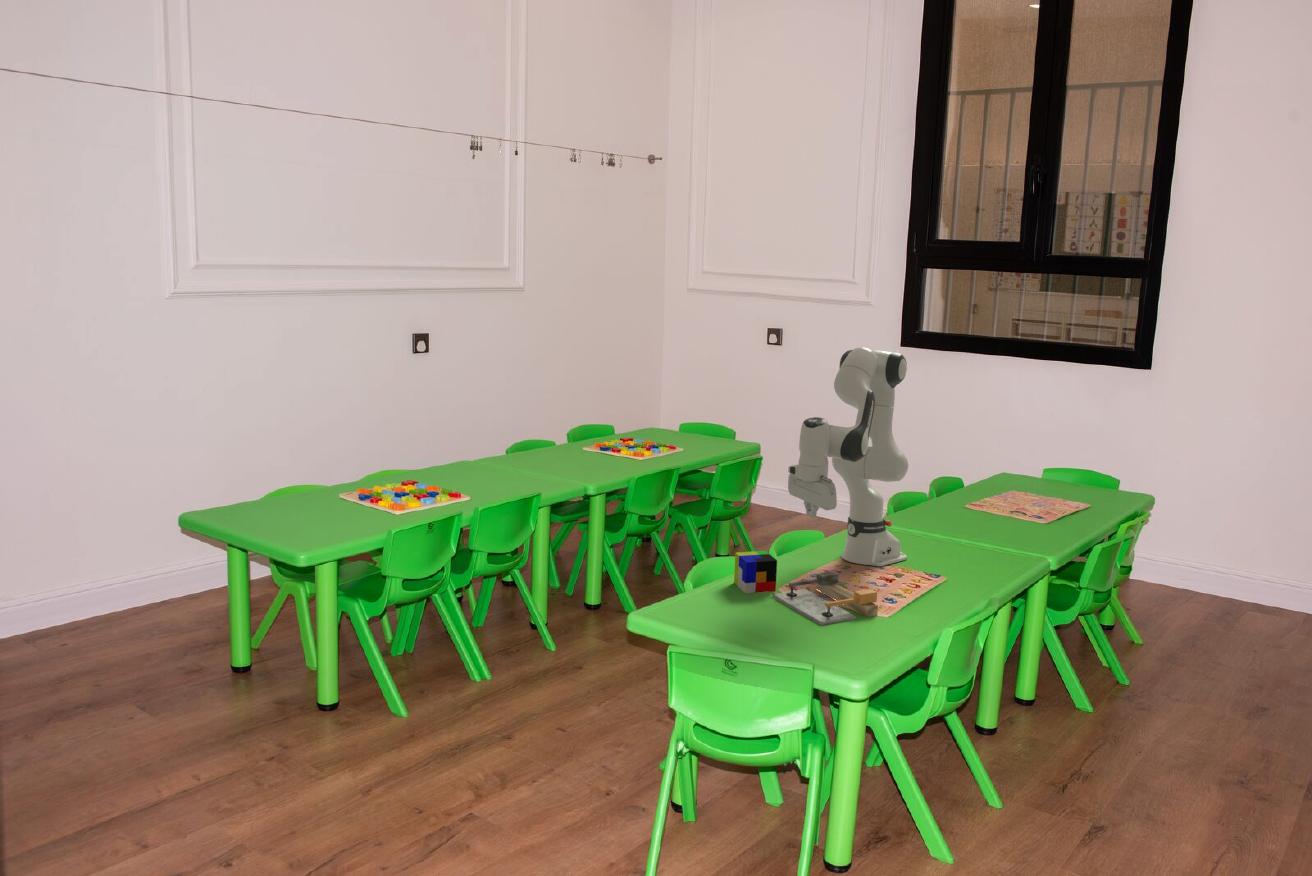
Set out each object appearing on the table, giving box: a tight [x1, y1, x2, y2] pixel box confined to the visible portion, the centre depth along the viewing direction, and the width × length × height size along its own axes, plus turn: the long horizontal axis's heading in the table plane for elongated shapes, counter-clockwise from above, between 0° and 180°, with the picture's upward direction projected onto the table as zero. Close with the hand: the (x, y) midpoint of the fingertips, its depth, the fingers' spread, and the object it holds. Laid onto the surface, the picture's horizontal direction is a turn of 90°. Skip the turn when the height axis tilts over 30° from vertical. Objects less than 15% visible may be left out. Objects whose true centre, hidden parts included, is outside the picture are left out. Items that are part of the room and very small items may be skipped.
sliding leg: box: [825, 588, 878, 614], centre depth 302 cm, size 17×3×5 cm, turn 117°
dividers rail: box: [788, 570, 879, 618], centre depth 310 cm, size 17×25×6 cm
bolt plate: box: [772, 588, 856, 626], centre depth 308 cm, size 12×25×1 cm, turn 27°
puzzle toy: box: [733, 550, 778, 594], centre depth 324 cm, size 10×10×10 cm
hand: (811, 516), depth 315 cm, fingers closed
